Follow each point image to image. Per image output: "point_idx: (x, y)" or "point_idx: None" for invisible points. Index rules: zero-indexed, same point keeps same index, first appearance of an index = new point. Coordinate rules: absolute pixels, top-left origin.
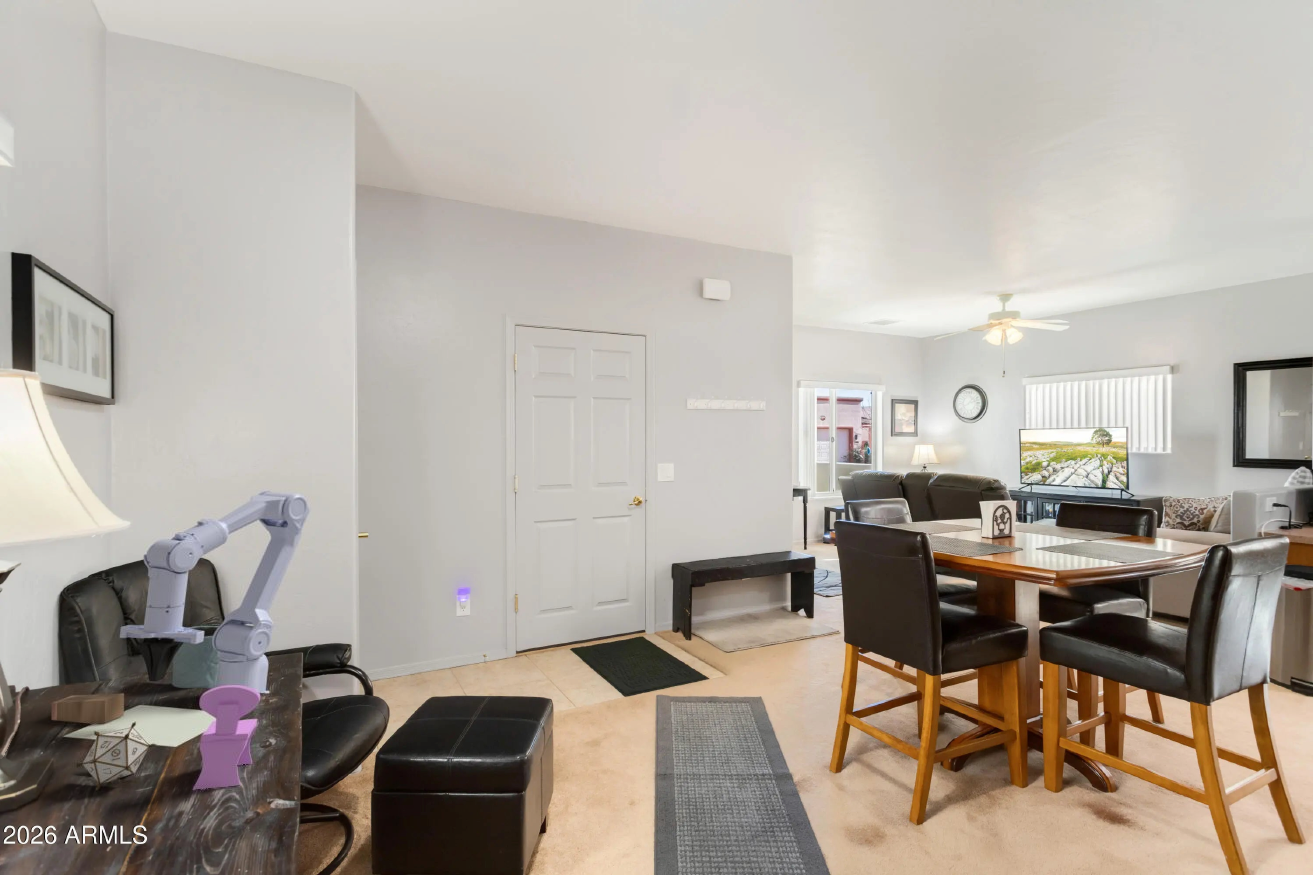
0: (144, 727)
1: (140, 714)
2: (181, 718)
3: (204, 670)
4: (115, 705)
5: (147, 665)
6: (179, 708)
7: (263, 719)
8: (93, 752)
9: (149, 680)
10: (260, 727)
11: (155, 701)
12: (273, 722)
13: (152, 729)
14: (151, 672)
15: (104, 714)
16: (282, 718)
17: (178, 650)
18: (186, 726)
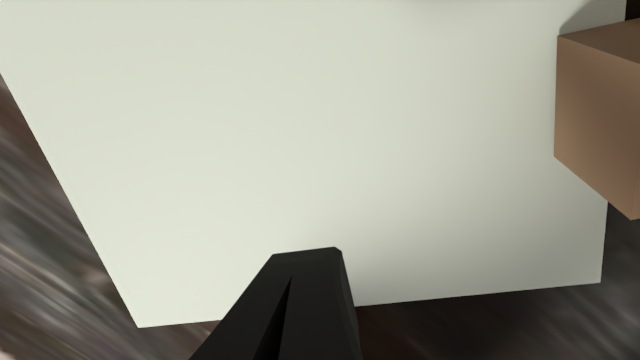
0: (320, 85)
1: (494, 200)
2: (278, 225)
3: None
4: (597, 131)
5: (331, 353)
6: (394, 300)
7: (74, 331)
8: None
9: (329, 248)
10: (4, 279)
11: (602, 347)
12: (20, 322)
13: (260, 80)
14: (291, 299)
15: (588, 44)
16: (35, 353)
17: None
18: (166, 166)
